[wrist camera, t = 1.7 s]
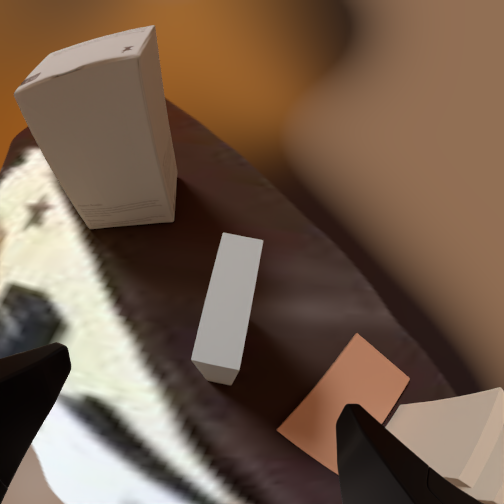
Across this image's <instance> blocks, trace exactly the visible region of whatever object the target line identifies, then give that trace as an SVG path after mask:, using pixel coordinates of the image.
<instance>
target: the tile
mask: <svg viewBox="0 0 504 504" xmlns="http://www.w3.org/2000/svg"><path fill="white" fill-rule="evenodd" d="M409 380H410V378H409V377H408V376H406V375H405V374H404V373H403V372H402V371H401V370H399V369H398V368H397V367H396V366H395V365H394V364H392V363H391V362H390V361H389V360H388V359H387V358H385V357H384V356H383V355H382V354H381V353H380V352H379V351H377V350H376V349H375V348H374V347H373V346H372V345H370V344H369V343H368V342H367V341H366V340H365V339H363V338H362V337H361V336H360V335H359V334H358V333H356V334H355V335H354V336H353V337H352V339H351V340H350V342H349V343H348V344H347V346H346V347H345V348H344V350H343V351H342V352H341V354H340V355H339V356H338V358H337V359H336V360H335V362H334V363H333V364H332V365H331V367H330V368H329V369H328V370H327V372H326V373H325V374H324V375H323V377H322V378H321V379H320V380H319V382H318V383H317V384H316V385H315V386H314V388H313V389H312V390H311V391H310V392H309V394H308V395H307V396H306V397H305V398H304V399H303V401H302V402H301V403H300V404H299V405H298V406H297V407H296V408H295V410H294V411H293V412H292V413H291V414H290V415H289V416H288V417H287V418H286V419H285V421H284V422H283V423H282V424H281V425H280V426H279V427H278V428H277V429H276V431H278V432H279V433H280V434H282V435H283V436H284V437H285V438H287V439H288V440H289V441H291V442H292V443H293V444H295V445H296V446H297V447H299V448H300V449H301V450H303V451H304V452H305V453H307V454H308V455H310V456H311V457H312V458H314V459H315V460H317V461H318V462H319V463H321V464H322V465H324V466H325V467H327V468H328V469H330V470H331V471H333V472H334V473H336V474H337V475H338V467H337V444H336V422H337V420H338V418H339V416H340V414H341V412H342V410H343V408H344V406H345V405H346V404H359V405H361V406H362V407H363V408H364V409H365V410H366V411H367V412H368V413H370V414H371V415H372V416H373V417H374V418H375V419H376V420H377V421H378V422H379V423H381V424H382V423H383V421H384V420H385V418H386V417H387V415H388V414H389V412H390V411H391V409H392V408H393V406H394V405H395V403H396V402H397V400H398V398H399V397H400V395H401V393H402V392H403V390H404V388H405V387H406V385H407V383H408V382H409Z"/></svg>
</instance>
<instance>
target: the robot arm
mask: <svg viewBox="0 0 504 504" xmlns="http://www.w3.org/2000/svg"><path fill="white" fill-rule="evenodd" d="M70 371H71V362H70V357H69V352H68V348H67V347H66V346H65V345H63V344H60V343H57V342H55V343H52V344H49V345H45V346H42V347H39V348H36V349H32V350H29V351H25V352H22V353H19V354H15V355H12V356H8V357H5V358H1V359H0V504H1V503H2V500H3V498H4V496H5V494H6V492H7V490H8V487H9V485H10V483H11V481H12V479H13V477H14V475H15V473H16V471H17V469H18V467H19V465H20V463H21V461H22V459H23V457H24V456H25V454H26V452H27V450H28V448H29V446H30V445H31V443H32V441H33V439H34V438H35V436H36V434H37V432H38V431H39V429H40V427H41V426H42V424H43V422H44V420H45V419H46V417H47V415H48V414H49V412H50V411H51V409H52V407H53V405H54V404H55V402H56V400H57V398H58V396H59V393H60V391H61V389H62V387H63V385H64V383H65V381H66V379H67V377H68V375H69V373H70ZM336 444H337V467H338V475H339V481H340V488H341V495H342V502H343V504H484V503H482V502H480V501H478V500H477V499H475V498H473V497H472V496H470V495H468V494H467V493H465V492H464V491H462V490H461V489H459V488H457V487H456V486H455V485H453V484H452V483H450V482H449V481H447V480H446V479H445V478H443V477H442V476H441V475H440V474H438V473H437V472H436V471H435V470H433V469H432V468H431V467H429V466H428V465H427V464H426V463H425V462H424V461H423V460H422V459H420V458H419V457H418V456H417V455H416V454H415V453H413V452H412V451H411V450H410V449H409V448H408V447H407V446H405V445H404V444H403V443H402V442H401V441H400V440H399V439H397V438H396V437H395V436H394V435H393V434H392V433H391V432H389V431H388V430H387V429H386V428H385V427H384V426H383V425H382V424H381V423H379V422H378V421H377V420H376V419H375V418H374V417H373V416H372V415H371V414H370V413H368V412H367V411H366V410H365V409H364V408H363V407H362V406H361V405H359V404H346V405H345V406H344V408H343V410H342V412H341V414H340V416H339V418H338V420H337V422H336Z"/></svg>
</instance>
